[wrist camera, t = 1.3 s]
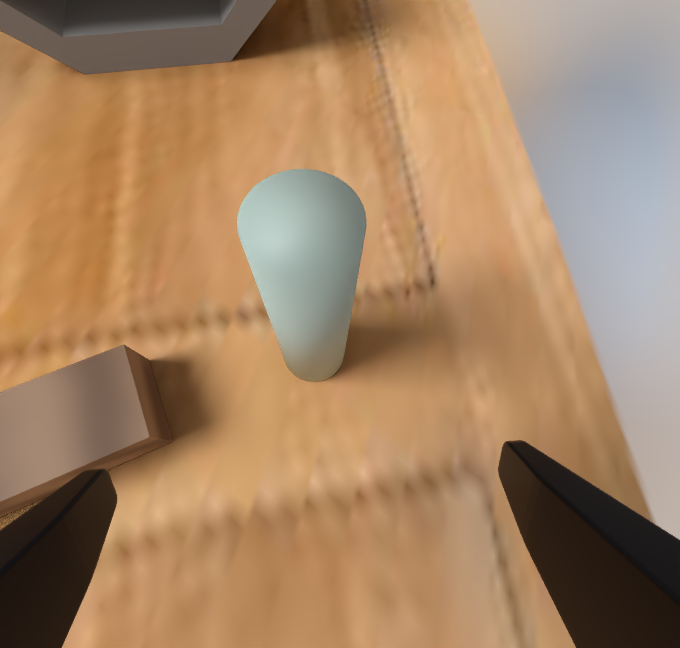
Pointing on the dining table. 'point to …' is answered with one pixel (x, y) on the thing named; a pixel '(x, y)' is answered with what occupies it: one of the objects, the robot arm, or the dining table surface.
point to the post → (305, 263)
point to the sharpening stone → (133, 31)
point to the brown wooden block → (77, 424)
